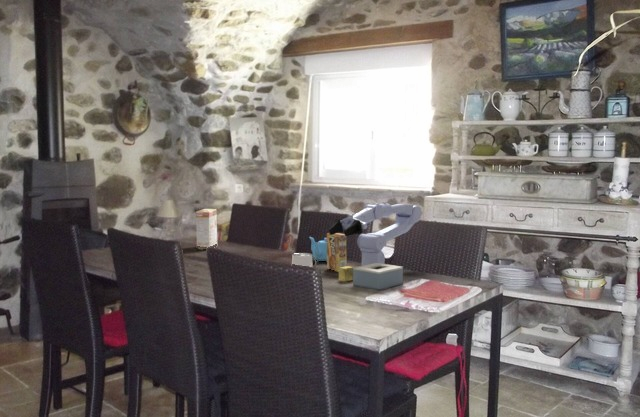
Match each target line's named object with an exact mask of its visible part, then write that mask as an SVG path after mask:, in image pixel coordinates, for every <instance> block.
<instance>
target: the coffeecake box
mask: <svg viewBox="0 0 640 417" xmlns="http://www.w3.org/2000/svg"><path fill="white" fill-rule="evenodd" d="M217 211H218V210H217V208H203V209H200V210H197V211H195V223H196V224H195V225H196V227H195V228H196V229H195V230H196V233H195V234H196V247H197V246H200V247H207V248H208V247H210V246H213V245H215V244H217V245H218V223H217V220H218V215H217Z"/></svg>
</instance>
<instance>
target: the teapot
mask: <svg viewBox="0 0 640 417" xmlns="http://www.w3.org/2000/svg"><path fill="white" fill-rule="evenodd" d="M308 238H309V239H310V241H311V245H310V249H311V252H312V253H311V254H312V256H313V257H314V258H315V259H316V260H317V262H319V261H326V262H325V263H327V237H324V238H323V240H319V241H318V242H317V241H315V238H314V237H312V236H309V237H308Z"/></svg>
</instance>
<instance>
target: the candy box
mask: <svg viewBox="0 0 640 417" xmlns="http://www.w3.org/2000/svg"><path fill="white" fill-rule="evenodd" d="M326 238H327V262H326V263H327V265H326V266H327V268H328V269H327V268H326V269H327V270H329V269H331V270H330V271H333V270H334V272H337V273H339V268H340V267H345V266H347V236H345V233H341V232H339V233H335V234H333V235H330V233H329V232H327V233H326Z"/></svg>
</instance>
